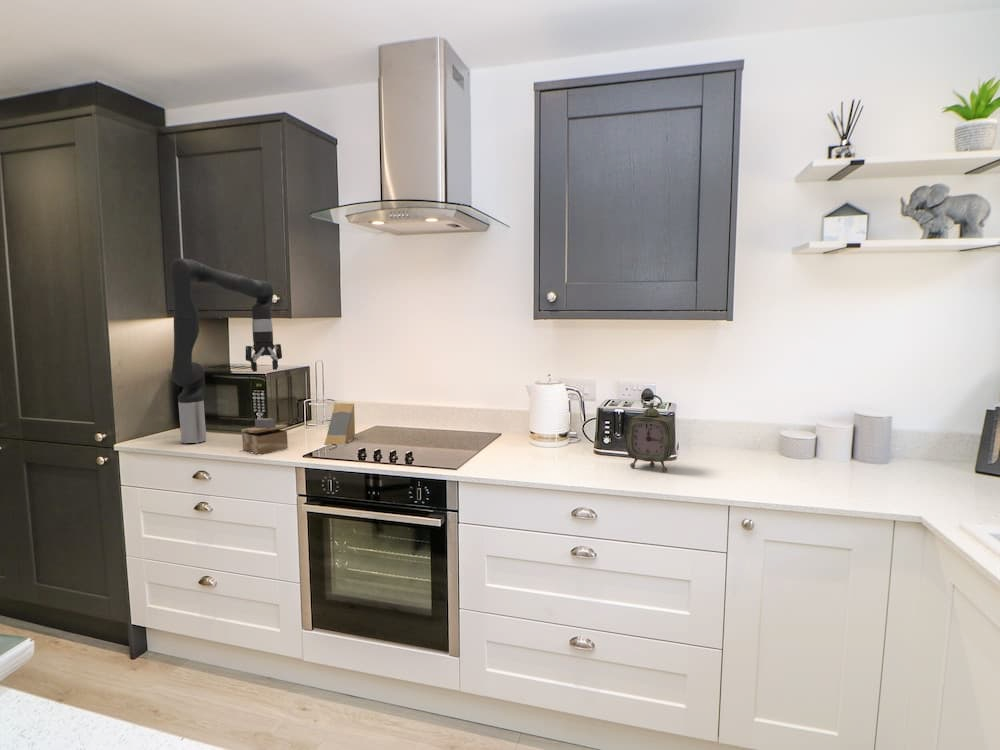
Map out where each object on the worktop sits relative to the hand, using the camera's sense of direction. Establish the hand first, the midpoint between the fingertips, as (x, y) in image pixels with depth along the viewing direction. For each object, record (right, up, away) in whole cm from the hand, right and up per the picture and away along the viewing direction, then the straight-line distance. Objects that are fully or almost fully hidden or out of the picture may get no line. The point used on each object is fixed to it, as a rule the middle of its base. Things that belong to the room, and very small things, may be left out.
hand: (265, 370), depth 232 cm
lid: (+3, -23, -8) cm, 25 cm away
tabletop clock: (+146, -33, -40) cm, 155 cm away
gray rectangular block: (+4, -22, -9) cm, 24 cm away
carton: (+3, -31, -7) cm, 32 cm away
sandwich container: (+29, -30, +5) cm, 42 cm away
